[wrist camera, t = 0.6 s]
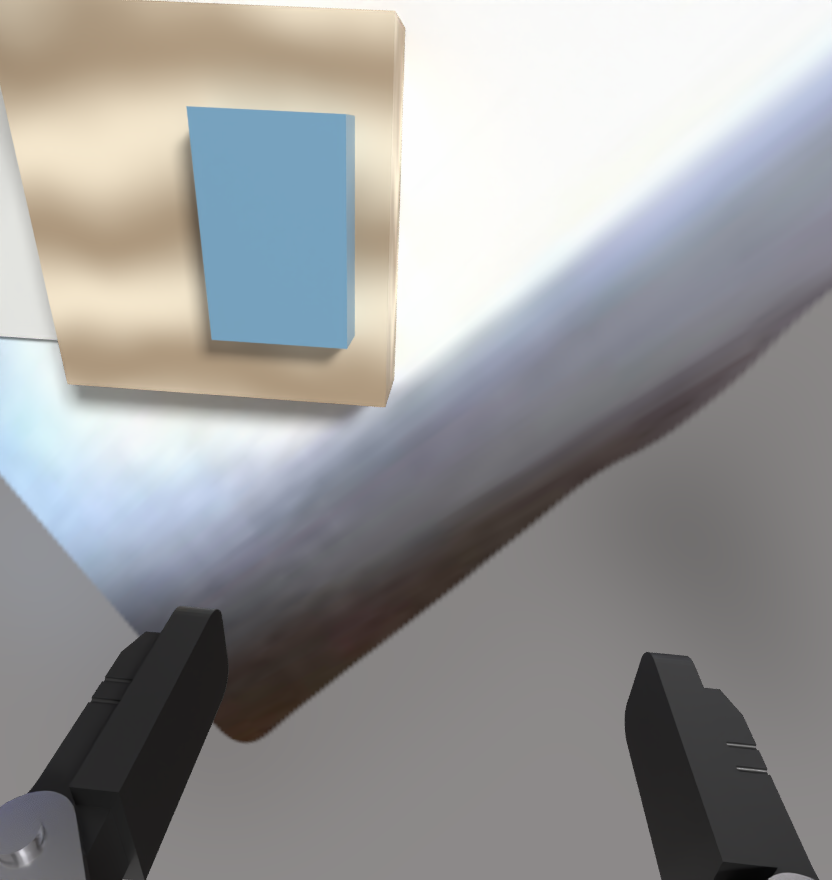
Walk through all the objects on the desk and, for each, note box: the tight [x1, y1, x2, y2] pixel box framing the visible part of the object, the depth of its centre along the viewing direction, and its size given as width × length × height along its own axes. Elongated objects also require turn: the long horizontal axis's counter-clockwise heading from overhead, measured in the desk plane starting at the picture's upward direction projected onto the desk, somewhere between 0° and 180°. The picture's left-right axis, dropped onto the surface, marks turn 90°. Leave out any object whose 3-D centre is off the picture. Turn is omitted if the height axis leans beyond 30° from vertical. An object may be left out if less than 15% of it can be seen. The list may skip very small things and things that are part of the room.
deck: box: [0, 0, 405, 407], centre depth 28 cm, size 16×16×4 cm
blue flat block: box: [186, 106, 355, 349], centre depth 25 cm, size 9×6×2 cm, turn 177°
